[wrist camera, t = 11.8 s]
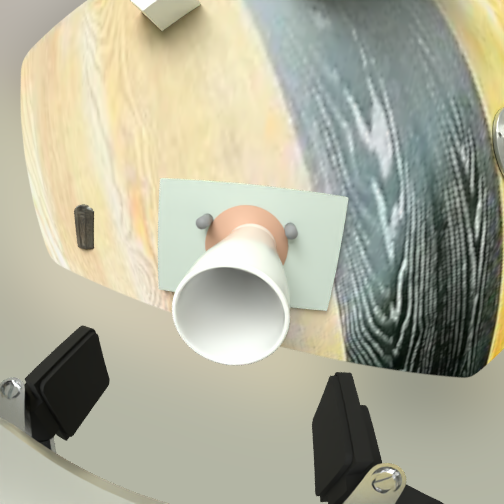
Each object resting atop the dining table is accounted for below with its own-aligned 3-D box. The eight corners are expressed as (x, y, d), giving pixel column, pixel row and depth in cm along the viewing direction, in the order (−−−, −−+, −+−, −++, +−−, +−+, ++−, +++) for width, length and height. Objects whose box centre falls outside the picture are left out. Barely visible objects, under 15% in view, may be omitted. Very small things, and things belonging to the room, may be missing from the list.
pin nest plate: (345, 196, 28) (355, 200, 24) (325, 305, 32) (330, 321, 28) (164, 178, 29) (150, 179, 25) (162, 285, 33) (150, 297, 29)
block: (83, 244, 34) (75, 248, 32) (78, 203, 31) (69, 205, 30) (100, 246, 33) (92, 251, 31) (95, 203, 31) (86, 206, 29)
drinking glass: (224, 210, 28) (172, 249, 14) (289, 221, 28) (305, 274, 13) (215, 271, 30) (168, 353, 16) (277, 282, 30) (277, 375, 15)
